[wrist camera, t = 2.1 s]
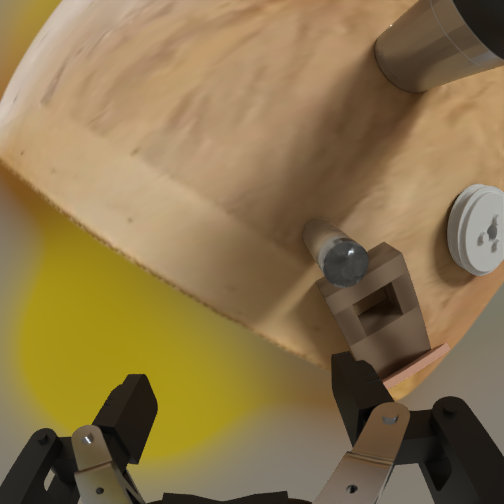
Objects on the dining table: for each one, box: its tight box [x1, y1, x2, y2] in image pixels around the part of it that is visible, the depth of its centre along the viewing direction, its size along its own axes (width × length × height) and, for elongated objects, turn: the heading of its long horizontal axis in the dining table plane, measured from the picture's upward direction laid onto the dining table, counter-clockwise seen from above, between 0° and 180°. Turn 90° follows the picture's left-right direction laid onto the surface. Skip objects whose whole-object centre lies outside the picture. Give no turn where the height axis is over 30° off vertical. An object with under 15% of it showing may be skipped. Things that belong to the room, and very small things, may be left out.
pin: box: [302, 218, 369, 288], centre depth 28 cm, size 4×4×11 cm
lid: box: [447, 184, 504, 276], centre depth 31 cm, size 13×13×5 cm
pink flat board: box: [381, 343, 450, 390], centre depth 30 cm, size 11×7×1 cm
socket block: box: [316, 242, 431, 380], centre depth 34 cm, size 10×16×5 cm, turn 31°
